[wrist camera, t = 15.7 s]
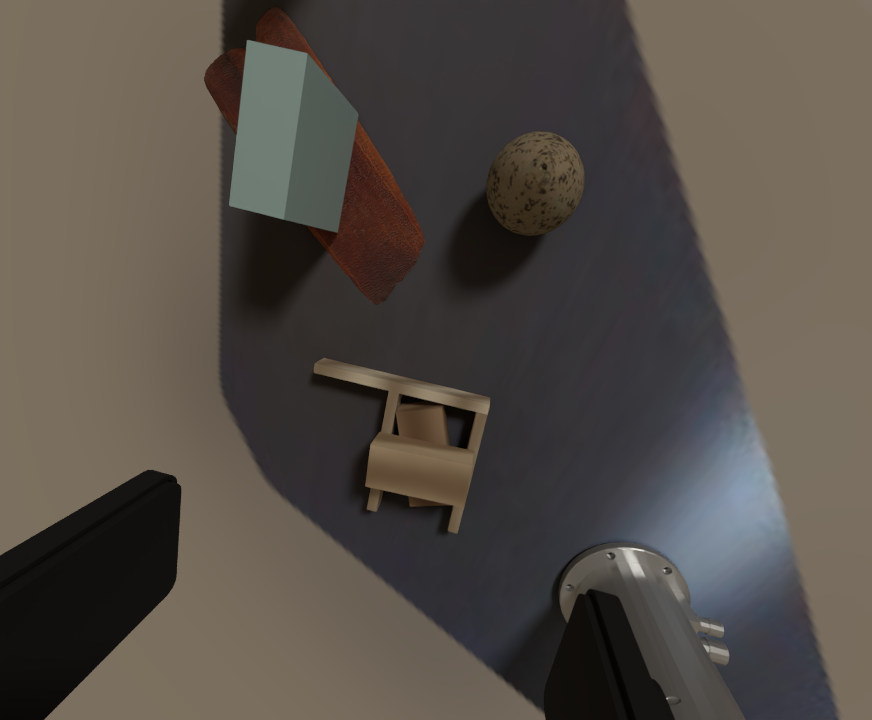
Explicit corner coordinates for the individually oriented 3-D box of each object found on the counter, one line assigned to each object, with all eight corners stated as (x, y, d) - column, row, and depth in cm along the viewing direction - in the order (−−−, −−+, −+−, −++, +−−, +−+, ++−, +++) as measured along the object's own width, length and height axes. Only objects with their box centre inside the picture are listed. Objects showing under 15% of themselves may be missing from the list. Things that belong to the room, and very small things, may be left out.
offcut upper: (379, 431, 39) (370, 444, 36) (473, 450, 38) (472, 465, 35) (374, 470, 40) (365, 486, 37) (466, 490, 39) (464, 507, 36)
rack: (489, 397, 39) (489, 404, 37) (458, 520, 43) (457, 533, 40) (324, 358, 41) (314, 362, 38) (306, 480, 44) (297, 490, 42)
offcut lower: (445, 398, 40) (441, 408, 37) (456, 488, 42) (453, 505, 39) (402, 401, 41) (395, 411, 38) (415, 490, 43) (409, 506, 40)
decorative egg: (556, 137, 34) (584, 83, 24) (581, 220, 35) (617, 202, 25) (475, 172, 35) (470, 134, 25) (502, 251, 36) (506, 245, 26)
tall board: (358, 114, 34) (307, 53, 25) (337, 232, 37) (283, 219, 27) (314, 103, 35) (247, 39, 25) (296, 222, 37) (229, 205, 28)
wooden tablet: (203, 83, 37) (190, 74, 36) (282, 4, 35) (272, -9, 33) (370, 322, 40) (365, 324, 38) (454, 263, 38) (452, 263, 36)
